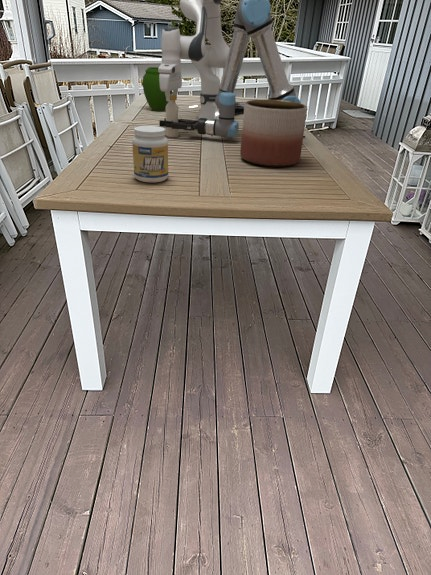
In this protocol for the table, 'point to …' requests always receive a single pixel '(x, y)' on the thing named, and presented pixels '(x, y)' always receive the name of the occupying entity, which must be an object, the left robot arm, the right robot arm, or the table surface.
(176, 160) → the table surface
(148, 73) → the vase
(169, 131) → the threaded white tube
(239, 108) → the sign
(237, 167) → the table surface
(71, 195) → the table surface
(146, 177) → the supplement tub
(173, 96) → the cap
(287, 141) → the planter
